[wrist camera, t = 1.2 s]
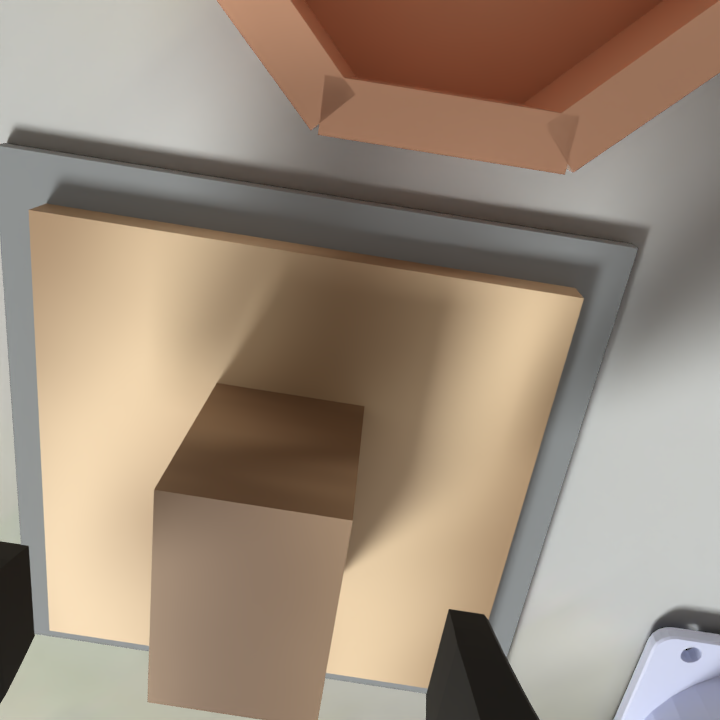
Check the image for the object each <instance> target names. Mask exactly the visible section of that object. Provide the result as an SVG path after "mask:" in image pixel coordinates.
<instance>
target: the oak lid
mask: <svg viewBox="0 0 720 720" xmlns="http://www.w3.org/2000/svg"><path fill="white" fill-rule="evenodd" d="M29 228H30V248H31V268H32V288H33V308H34V328H35V348H36V369H37V389H38V409H39V429H40V449H41V469H42V489H43V509H44V529H45V549H46V570H47V590H48V610H49V630H50V631H56V632H62V633H69V634H75V635H82V636H88V637H95V638H101V639H108V640H114V641H121V642H128V643H134V644H141V645H147V646H149V670H148V702H150V703H157V704H163V705H170V706H176V707H183V708H189V709H196V710H203V711H209V712H216V713H222V714H229V715H235V716H242V717H249V718H255V719H262V720H318V715H319V710H320V704H321V698H322V693H323V687H324V681H325V676H326V673H330V674H337V675H343V676H350V677H356V678H363V679H369V680H376V681H382V682H389V683H395V684H402V685H408V686H415V687H422V688H428V686H429V682H430V678H431V674H432V671H433V667H434V663H435V659H436V656H437V652H438V648H439V644H440V640H441V637H442V633H443V629H444V625H445V622H446V618H447V614H448V610H449V609H453V610H459V611H466V612H473V613H479V614H484V615H485V616H486V617H487V619H488V620H489V616H490V613H491V610H492V606H493V603H494V600H495V596H496V593H497V589H498V586H499V583H500V579H501V576H502V573H503V569H504V566H505V563H506V559H507V556H508V552H509V549H510V546H511V542H512V539H513V536H514V532H515V529H516V526H517V522H518V519H519V515H520V512H521V509H522V505H523V502H524V499H525V495H526V492H527V489H528V485H529V482H530V478H531V475H532V472H533V468H534V465H535V462H536V458H537V455H538V452H539V448H540V445H541V441H542V438H543V435H544V431H545V428H546V425H547V421H548V418H549V415H550V411H551V408H552V404H553V401H554V398H555V394H556V391H557V388H558V384H559V381H560V378H561V374H562V371H563V367H564V364H565V361H566V357H567V354H568V351H569V347H570V344H571V341H572V337H573V334H574V330H575V327H576V324H577V320H578V317H579V314H580V310H581V307H582V303H583V300H584V298H583V297H582V295H581V294H580V293H579V292H578V291H577V289H576V288H572V287H566V286H560V285H554V284H547V283H541V282H535V281H529V280H522V279H516V278H510V277H504V276H497V275H491V274H485V273H478V272H472V271H466V270H460V269H453V268H447V267H441V266H435V265H428V264H422V263H416V262H410V261H403V260H397V259H391V258H385V257H378V256H372V255H366V254H359V253H353V252H347V251H341V250H334V249H328V248H322V247H316V246H309V245H303V244H297V243H291V242H284V241H278V240H272V239H265V238H259V237H253V236H247V235H240V234H234V233H228V232H222V231H215V230H209V229H203V228H197V227H190V226H184V225H178V224H171V223H165V222H159V221H153V220H146V219H140V218H134V217H128V216H121V215H115V214H109V213H103V212H96V211H90V210H84V209H78V208H71V207H65V206H59V205H52V204H43V205H40V206H38V207H35V208H32V209H30V210H29Z"/></svg>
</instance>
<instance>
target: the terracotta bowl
mask: <svg viewBox="0 0 720 720" xmlns="http://www.w3.org/2000/svg"><path fill="white" fill-rule="evenodd" d="M217 2H218V3H219V4H220V6H221V7H222V8H223V10H224V11H225V13H226V14H227V15H228V17H229V18H230V19H231V21H232V22H233V24H234V25H235V26H236V28H237V29H238V31H239V32H240V33H241V35H242V36H243V37H244V39H245V40H246V42H247V43H248V44H249V46H250V47H251V48H252V50H253V51H254V53H255V54H256V55H257V57H258V58H259V60H260V61H261V62H262V64H263V65H264V66H265V68H266V69H267V71H268V72H269V73H270V75H271V76H272V77H273V79H274V80H275V82H276V83H277V84H278V86H279V87H280V89H281V90H282V91H283V93H284V94H285V95H286V97H287V98H288V100H289V101H290V102H291V104H292V105H293V106H294V108H295V109H296V111H297V112H298V113H299V115H300V116H301V118H302V119H303V120H304V122H305V123H306V124H307V126H308V127H309V129H310V130H312V129H314V128H315V127H317V126H318V125H319V130H318V135H323V136H329V137H335V138H341V139H347V140H354V141H360V142H366V143H372V144H378V145H385V146H391V147H397V148H403V149H409V150H416V151H422V152H428V153H434V154H440V155H446V156H453V157H459V158H465V159H471V160H477V161H484V162H490V163H496V164H502V165H508V166H515V167H521V168H527V169H533V170H539V171H546V172H552V173H558V174H564V175H565V172H566V169H567V170H569V171H571V172H575V171H576V170H578V169H579V168H581V167H582V166H584V165H585V164H586V163H588V162H589V161H591V160H592V159H594V158H595V157H597V156H598V155H600V154H601V153H603V152H604V151H606V150H607V149H608V148H610V147H611V146H613V145H614V144H616V143H617V142H619V141H620V140H622V139H623V138H625V137H626V136H628V135H629V134H630V133H632V132H633V131H635V130H636V129H638V128H639V127H641V126H642V125H644V124H645V123H647V122H648V121H650V120H651V119H652V118H654V117H655V116H657V115H658V114H660V113H661V112H663V111H664V110H666V109H667V108H669V107H670V106H671V105H673V104H674V103H676V102H677V101H679V100H680V99H682V98H683V97H685V96H686V95H688V94H689V93H691V92H692V91H693V90H695V89H696V88H698V87H699V86H701V85H702V84H704V83H705V82H707V81H708V80H710V79H711V78H713V77H714V76H715V75H717V74H718V73H720V0H217Z"/></svg>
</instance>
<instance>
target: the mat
mask: <svg viewBox="0 0 720 720" xmlns="http://www.w3.org/2000/svg"><path fill="white" fill-rule="evenodd" d="M43 204H52V205H59V206H65V207H71V208H78V209H84V210H90V211H96V212H103V213H109V214H115V215H121V216H128V217H134V218H140V219H146V220H153V221H159V222H165V223H171V224H178V225H184V226H190V227H197V228H203V229H209V230H215V231H222V232H228V233H234V234H240V235H247V236H253V237H259V238H265V239H272V240H278V241H284V242H291V243H297V244H303V245H309V246H316V247H322V248H328V249H334V250H341V251H347V252H353V253H359V254H366V255H372V256H378V257H385V258H391V259H397V260H403V261H410V262H416V263H422V264H428V265H435V266H441V267H447V268H453V269H460V270H466V271H472V272H478V273H485V274H491V275H497V276H504V277H510V278H516V279H522V280H529V281H535V282H541V283H547V284H554V285H560V286H566V287H572V288H576V289H577V291H578V292H579V293H580V294H581V295H582V297H583V298H584V300H583V303H582V307H581V310H580V314H579V317H578V320H577V324H576V327H575V330H574V334H573V337H572V341H571V344H570V347H569V351H568V354H567V357H566V361H565V364H564V367H563V371H562V374H561V378H560V381H559V384H558V388H557V391H556V394H555V398H554V401H553V404H552V408H551V411H550V415H549V418H548V421H547V425H546V428H545V431H544V435H543V438H542V441H541V445H540V448H539V452H538V455H537V458H536V462H535V465H534V468H533V472H532V475H531V478H530V482H529V485H528V489H527V492H526V495H525V499H524V502H523V505H522V509H521V512H520V515H519V519H518V522H517V526H516V529H515V532H514V536H513V539H512V542H511V546H510V549H509V552H508V556H507V559H506V563H505V566H504V569H503V573H502V576H501V579H500V583H499V586H498V589H497V593H496V596H495V600H494V603H493V606H492V610H491V613H490V616H489V622H490V624H491V626H492V629H493V631H494V633H495V635H496V637H497V639H498V641H499V643H500V645H501V648H502V650H503V652H504V654H505V656H506V658H507V655H508V652H509V649H510V646H511V643H512V640H513V637H514V633H515V630H516V627H517V624H518V621H519V618H520V615H521V612H522V609H523V605H524V602H525V599H526V596H527V593H528V590H529V587H530V584H531V581H532V577H533V574H534V571H535V568H536V565H537V562H538V559H539V556H540V553H541V549H542V546H543V543H544V540H545V537H546V534H547V531H548V528H549V525H550V521H551V518H552V515H553V512H554V509H555V506H556V503H557V500H558V496H559V493H560V490H561V487H562V484H563V481H564V478H565V475H566V472H567V468H568V465H569V462H570V459H571V456H572V453H573V450H574V447H575V444H576V440H577V437H578V434H579V431H580V428H581V425H582V422H583V419H584V416H585V412H586V409H587V406H588V403H589V400H590V397H591V394H592V391H593V388H594V384H595V381H596V378H597V375H598V372H599V369H600V366H601V363H602V360H603V356H604V353H605V350H606V347H607V344H608V341H609V338H610V335H611V331H612V328H613V325H614V322H615V319H616V316H617V313H618V310H619V307H620V303H621V300H622V297H623V294H624V291H625V288H626V285H627V282H628V279H629V275H630V272H631V269H632V266H633V263H634V260H635V257H636V254H637V251H638V248H637V247H635V246H634V245H633V244H630V243H624V242H617V241H611V240H605V239H599V238H592V237H586V236H580V235H574V234H568V233H561V232H555V231H549V230H543V229H536V228H530V227H524V226H518V225H511V224H505V223H499V222H493V221H487V220H480V219H474V218H468V217H462V216H455V215H449V214H443V213H437V212H430V211H424V210H418V209H412V208H405V207H399V206H393V205H387V204H381V203H374V202H368V201H362V200H356V199H349V198H343V197H337V196H331V195H324V194H318V193H312V192H306V191H300V190H293V189H287V188H281V187H275V186H268V185H262V184H256V183H250V182H243V181H237V180H231V179H225V178H218V177H212V176H206V175H200V174H194V173H187V172H181V171H175V170H169V169H162V168H156V167H150V166H144V165H137V164H131V163H125V162H119V161H113V160H106V159H100V158H94V157H88V156H81V155H75V154H69V153H63V152H56V151H50V150H44V149H38V148H31V147H25V146H19V145H13V144H7V143H3V144H0V241H1V256H2V270H3V285H4V300H5V315H6V329H7V344H8V359H9V374H10V388H11V403H12V418H13V433H14V447H15V462H16V477H17V492H18V506H19V521H20V536H21V545H27V546H29V556H30V572H31V587H32V603H33V619H34V634H39V635H46V636H52V637H59V638H65V639H72V640H78V641H85V642H91V643H98V644H104V645H111V646H117V647H124V648H131V649H137V650H144V651H149V646H147V645H141V644H134V643H128V642H121V641H114V640H108V639H101V638H95V637H88V636H82V635H75V634H69V633H62V632H56V631H50V630H49V610H48V590H47V570H46V549H45V529H44V509H43V489H42V469H41V449H40V429H39V409H38V389H37V369H36V348H35V328H34V308H33V288H32V268H31V248H30V228H29V210H30V209H32V208H35V207H38V206H40V205H43ZM325 678H327V679H333V680H340V681H346V682H353V683H359V684H366V685H372V686H379V687H385V688H392V689H398V690H405V691H412V692H418V693H425V694H426V693H427V690H428V688H422V687H415V686H408V685H402V684H395V683H389V682H382V681H376V680H369V679H363V678H356V677H350V676H343V675H337V674H330V673H326V676H325Z"/></svg>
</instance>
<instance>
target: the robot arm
mask: <svg viewBox="0 0 720 720" xmlns="http://www.w3.org/2000/svg"><path fill="white" fill-rule="evenodd" d="M34 636H35V634H34V619H33V603H32V587H31V572H30V556H29V546H27V545H20V544H14V543H7V542H0V703H1V701H2V700H3V698H4V697H5V695H6V693H7V691H8V689H9V687H10V685H11V683H12V681H13V679H14V677H15V675H16V673H17V671H18V669H19V667H20V665H21V663H22V661H23V659H24V657H25V655H26V653H27V651H28V649H29V647H30V644H31V642H32V640H33V638H34ZM687 648H691V649H689V650H685V649H687ZM426 720H539V718H538V716H537V714H536V713H535V711H534V709H533V707H532V706H531V704H530V702H529V700H528V698H527V696H526V695H525V693H524V691H523V689H522V687H521V685H520V683H519V681H518V679H517V677H516V675H515V674H514V672H513V670H512V668H511V666H510V664H509V662H508V660H507V658H506V656H505V654H504V652H503V650H502V648H501V645H500V643H499V641H498V639H497V637H496V635H495V633H494V631H493V629H492V626H491V624H490V622H489V620H488V619H487V617H486V616H485V615H484V614H479V613H473V612H466V611H459V610H453V609H449V610H448V614H447V618H446V622H445V625H444V629H443V633H442V637H441V640H440V644H439V648H438V652H437V656H436V659H435V663H434V667H433V671H432V674H431V678H430V682H429V686H428V690H427V693H426ZM614 720H720V634H713V633H707V632H700V631H694V630H687V629H681V628H674V627H665V628H661V629H658V630H657V631H655V632H654V633H652V634H651V636H650V637H649V639H648V641H647V643H646V646H645V648H644V650H643V652H642V655H641V657H640V659H639V662H638V664H637V666H636V669H635V671H634V673H633V676H632V678H631V680H630V683H629V685H628V687H627V690H626V692H625V694H624V697H623V699H622V701H621V704H620V706H619V708H618V711H617V713H616V715H615V718H614Z"/></svg>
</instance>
